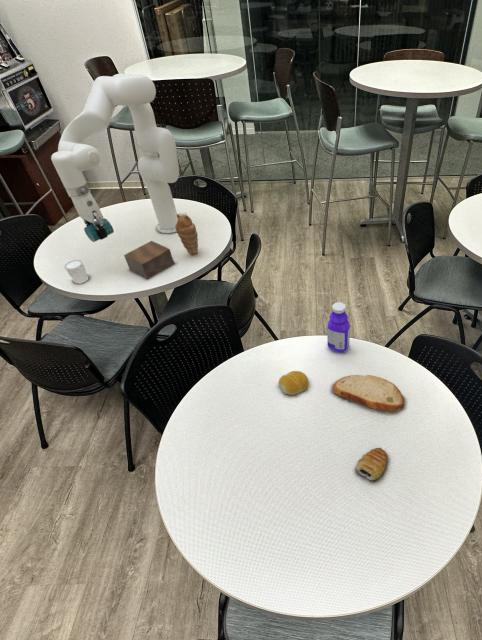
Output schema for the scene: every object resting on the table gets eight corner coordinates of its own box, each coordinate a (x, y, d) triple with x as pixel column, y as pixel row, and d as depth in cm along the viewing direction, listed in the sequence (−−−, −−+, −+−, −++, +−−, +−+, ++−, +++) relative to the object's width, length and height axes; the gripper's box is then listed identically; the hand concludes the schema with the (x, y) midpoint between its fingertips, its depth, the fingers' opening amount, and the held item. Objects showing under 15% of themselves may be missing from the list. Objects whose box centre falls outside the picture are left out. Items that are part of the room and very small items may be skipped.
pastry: (371, 446, 115) (372, 438, 112) (393, 458, 112) (395, 450, 109) (353, 471, 110) (353, 464, 107) (375, 485, 107) (377, 477, 104)
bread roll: (313, 387, 130) (312, 378, 127) (288, 399, 127) (287, 390, 124) (299, 371, 135) (298, 362, 132) (274, 382, 132) (273, 374, 129)
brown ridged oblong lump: (180, 256, 183) (167, 217, 170) (190, 247, 188) (179, 208, 175) (197, 260, 181) (186, 220, 167) (207, 251, 186) (197, 211, 172)
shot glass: (84, 285, 171) (76, 270, 166) (69, 283, 172) (60, 268, 167) (93, 275, 175) (85, 260, 170) (78, 274, 177) (70, 259, 171)
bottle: (351, 345, 142) (353, 303, 129) (345, 355, 139) (346, 314, 126) (331, 339, 145) (331, 297, 132) (325, 350, 141) (324, 308, 128)
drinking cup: (107, 230, 170) (101, 216, 166) (115, 234, 168) (109, 220, 163) (88, 239, 166) (81, 225, 162) (97, 244, 163) (90, 230, 159)
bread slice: (328, 385, 131) (328, 376, 128) (380, 367, 135) (380, 359, 132) (354, 428, 119) (355, 420, 117) (409, 407, 124) (411, 399, 121)
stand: (156, 255, 185) (151, 240, 180) (174, 263, 180) (169, 249, 174) (129, 270, 177) (123, 255, 172) (147, 279, 172) (141, 264, 167)
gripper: (100, 191, 150) (120, 238, 164) (74, 180, 158) (95, 225, 171) (81, 199, 147) (103, 246, 160) (55, 187, 154) (78, 233, 167)
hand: (99, 235), depth 166 cm, fingers closed on drinking cup, 5 cm apart
